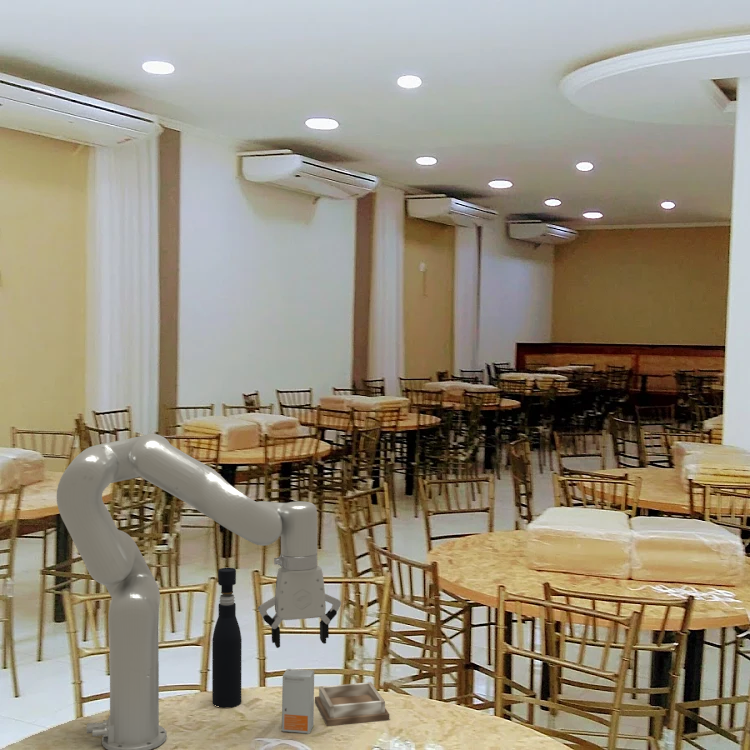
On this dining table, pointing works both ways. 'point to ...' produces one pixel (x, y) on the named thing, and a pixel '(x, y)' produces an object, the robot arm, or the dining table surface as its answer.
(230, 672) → the black water bottle
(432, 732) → the dining table surface
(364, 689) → the square brown tray
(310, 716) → the skincare box
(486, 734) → the dining table surface
